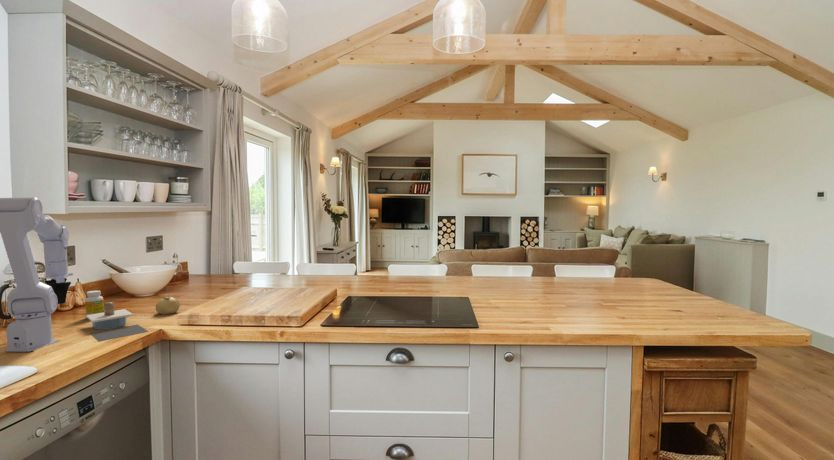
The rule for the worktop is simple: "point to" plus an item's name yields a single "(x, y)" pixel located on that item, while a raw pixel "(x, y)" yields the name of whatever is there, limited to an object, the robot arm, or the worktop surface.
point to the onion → (167, 305)
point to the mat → (118, 332)
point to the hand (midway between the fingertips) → (59, 302)
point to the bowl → (109, 323)
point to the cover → (109, 313)
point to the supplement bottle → (94, 303)
